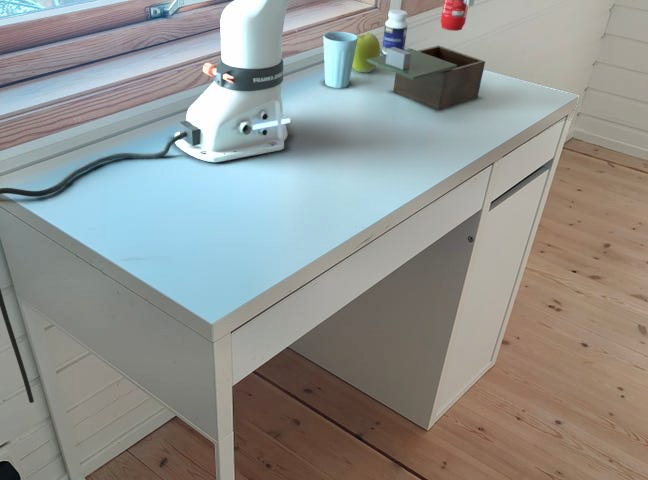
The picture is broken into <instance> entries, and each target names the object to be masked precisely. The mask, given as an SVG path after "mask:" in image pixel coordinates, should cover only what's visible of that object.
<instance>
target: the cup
mask: <svg viewBox="0 0 648 480" xmlns="http://www.w3.org/2000/svg"><path fill="white" fill-rule="evenodd" d="M357 36H358V35H356V34H354V33H352V32H347V31H329V32H326V33H324V34H323V57H324V58H323V59H324V60H323V61H324V62H323V63H324V81H325V82H324V83H325V85H326V86H328V87H330V88H334V89H342V88H347V87H349V84H350V79H351V76H352V75H351V74H352V71H353V70H352V69H353V67H352V65H353V60H354V55H355V50H356V45H357V40H358V37H357Z"/></svg>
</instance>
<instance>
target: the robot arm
mask: <svg viewBox="0 0 648 480" xmlns="http://www.w3.org/2000/svg"><path fill="white" fill-rule="evenodd" d="M290 2H291V0H232V1H231V2H229V4H227V6H226V7H224V9H223V11H222V13H221V16H220V49H221V50H220V52H221V53H220V55H221V57H220V58H219V60H218V63H217V66H216V65H215V64H212V63H211V62H205V63H204V64H203V66H202V72H203V73H204V74H205V75H208V76H209V77H213V82H212V83H211V84H210V85H209V87H207V88H206V90H204V92H203V93H202V94H200V96H199V97H198V98H197V99H196V100H195V101H194V102H193V103H192V104H191V105H190V106H189V108H188V109H187V113H186V117H185V118H186V119H185V120H183V121H179V122H178V130H179V131H178V132H176V133H175V134H174V136H173V137H172V138H170V139H169V140H168V141H166V144H165V145H164V148H163V149H162V150H160V151H158V152H156V153H149V154H144V153H135V152H116V153H112V154H108V155H104V156H101V157H99V158H96V159H94V160H91V161H90V162H87V163H85V164H83V165H81V166H80V167H78V168H75V169H74V170H72V171H71V172H69V173H68V174H67V175H65V176H64V178H62V179H61V180H60V181H59V182H58V183H56V184H55V185H53V186H50V187H48V188H46V189H45V188H44V189H42V190H41V189H40V190H26V189H21V188H13V187H0V195H2V194H11V195H17V196H18V195H19V196H24V197H34V198H38V197H45V196H47V195H48V196H49V195H51V194H54V193H55V192H58V191H59V190H61V189H62V188H64V187H65V186H66V185H67V184H68V183H69V182H70V181H72V180H73V179H74V178H76V177H77V176H78V175H80V174H83V173H84V172H86V171H88V170H90V169H92V168H93V167H96V166H98V165H100V164H102V163H105V162H106V163H107V162H109V161H112V160H116V159H141V160H142V159H143V160H144V159H147V160H148V159H160V158H161V157H164V156H166V155H167V154H168V153H169V151H170V149H171V147H172V145H174V144H175V145H176V146H177V147H178V148H179V149H180V150H181V151H183V152H185V154H188V155H190V156H191V157H193V158H196V159H198V160H202V161H204V162H209V163H221V162H227V161H232V160H236V159H242V158H246V157H251V156H257V155H263V154H268V153H272V152H278V151H282V150H284V149H285V141H286V139H287V138H288V134H289V133H288V130H287V126H286V124H289V123H291V118H288V117H287V118H285V117H284V116H285V115H284V108H283V98H282V97H283V96H282V95H283V94H282V82H283V81H284V60H283V58H282V50H283V49H282V48H283V34H284V25H285V18H286V14H287V10H288V8H289V5H290ZM474 4H475V0H464V1H463V5H466V6H468V7H473V6H474ZM0 311H1V315H2V318H3V321H4V325H5V327H6V330H7V333H8V336H9V340H10V343H11V346H12V349H13V352H14V355H15V358H16V362H17V364H18V369H19V371H20V374H21V378H22V381H23V384H24V387H25V391H26V394H27V398H28V402H29V403H30V404H32V403H34V402H35V400H34V395H33V392H32V389H31V385H30V382H29V377H28V374H27V372H26V368H25V365H24V362H23V358H22V355H21V352H20V349H19V346H18V343H17V340H16V337H15V334H14V330H13V327H12V324H11V321H10V317H9V314H8V310H7V307H6V303H5V300H4V296H3V293H2V289H1V288H0Z"/></svg>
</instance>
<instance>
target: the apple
mask: <svg viewBox="0 0 648 480" xmlns="http://www.w3.org/2000/svg"><path fill="white" fill-rule="evenodd" d="M366 31H367V28H366V29H365V30H364V32H363V33H362V34H359V35H356V36H357V37H358V40H357V45H356V50H355V55H354V60H353V65H352V69H353V70H355V71H356V72H357V73H358V72H359V73H360V72H361V73H367V74H368V73H370V72H372V71H374V70H375V68H377V66H376V65H374V64H371V63H369V62H367V59H369V58H373V57H377V56H381V46H380V40H379V39H378V37H377V36H376V35H374V34H373V33H371V32H366Z"/></svg>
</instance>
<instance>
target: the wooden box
mask: <svg viewBox="0 0 648 480" xmlns="http://www.w3.org/2000/svg"><path fill="white" fill-rule="evenodd" d="M417 51H419V52H422V53H425V54H427V55H430V56H433V57H436V58H439V59H441V60H444V61H447V62H450V63H453V64H456V65H457V68H454V69H451V70H447V71H444V72H440V73H436V74H433V75H429V76H426V77H422V78H418V79H415V80H412V79H410V78H407V77H405V76H402V75H399V74H397V73H395V76H394V82H393V90H392V92H393V93H394V94H397V95H400V96H402V97H405V98H407V99H409V100H412V101H414V102H416V103H419V104H422V105H424V106H427V107H429V108H431V109H434V110H436V111H441V110H443V109H447V108H451V107H453V106H456V105H460V104H463V103H466V102H469V101H472V100H475V99H478V97H479V93H480V87H481V83H482V78H483V74H484V69H485V64H486V61H485V60H482V59H479V58H477V57H474V56H471V55H468V54H465V53H461V52H459V51H456V50H453V49H450V48H447V47H444V46H441V45H436V46H430V47H427V48H422V49H419V50H417Z"/></svg>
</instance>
